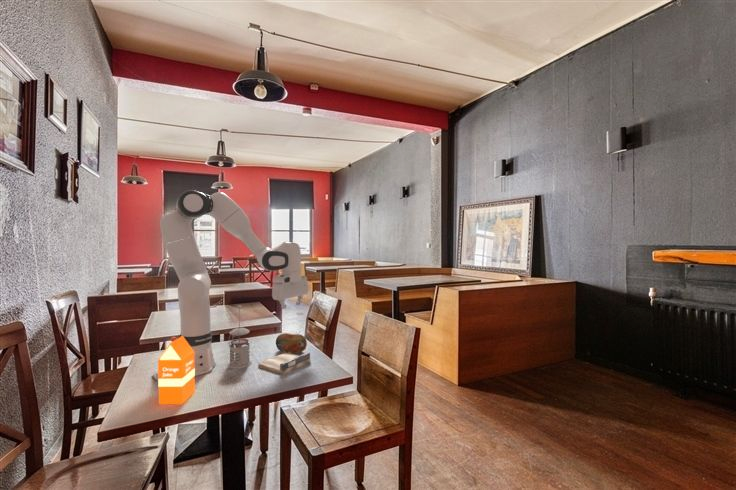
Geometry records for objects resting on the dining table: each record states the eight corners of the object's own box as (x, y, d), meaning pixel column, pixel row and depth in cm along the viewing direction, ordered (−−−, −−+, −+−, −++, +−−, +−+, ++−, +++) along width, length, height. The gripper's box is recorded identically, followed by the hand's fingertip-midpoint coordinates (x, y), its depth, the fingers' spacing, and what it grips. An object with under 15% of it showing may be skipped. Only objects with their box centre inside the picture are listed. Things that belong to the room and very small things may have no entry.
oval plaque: (275, 351, 165) (275, 333, 164) (279, 349, 168) (278, 331, 167) (304, 354, 160) (304, 336, 160) (307, 352, 163) (307, 334, 163)
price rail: (282, 370, 138) (282, 364, 138) (280, 370, 138) (280, 364, 138) (310, 358, 151) (310, 352, 151) (307, 357, 152) (307, 352, 152)
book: (282, 374, 138) (282, 370, 138) (258, 367, 145) (258, 363, 145) (310, 361, 151) (310, 358, 151) (286, 355, 159) (286, 352, 159)
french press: (235, 370, 142) (235, 308, 141) (220, 363, 149) (219, 304, 148) (256, 363, 149) (256, 304, 148) (241, 357, 156) (240, 301, 155)
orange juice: (195, 392, 123) (194, 335, 122) (182, 404, 114) (181, 343, 113) (172, 392, 122) (171, 335, 121) (158, 405, 113) (156, 343, 113)
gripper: (301, 274, 173) (301, 302, 174) (269, 278, 156) (269, 310, 156) (311, 275, 170) (311, 303, 170) (279, 280, 152) (280, 311, 153)
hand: (291, 306), depth 163 cm, fingers open, 8 cm apart
